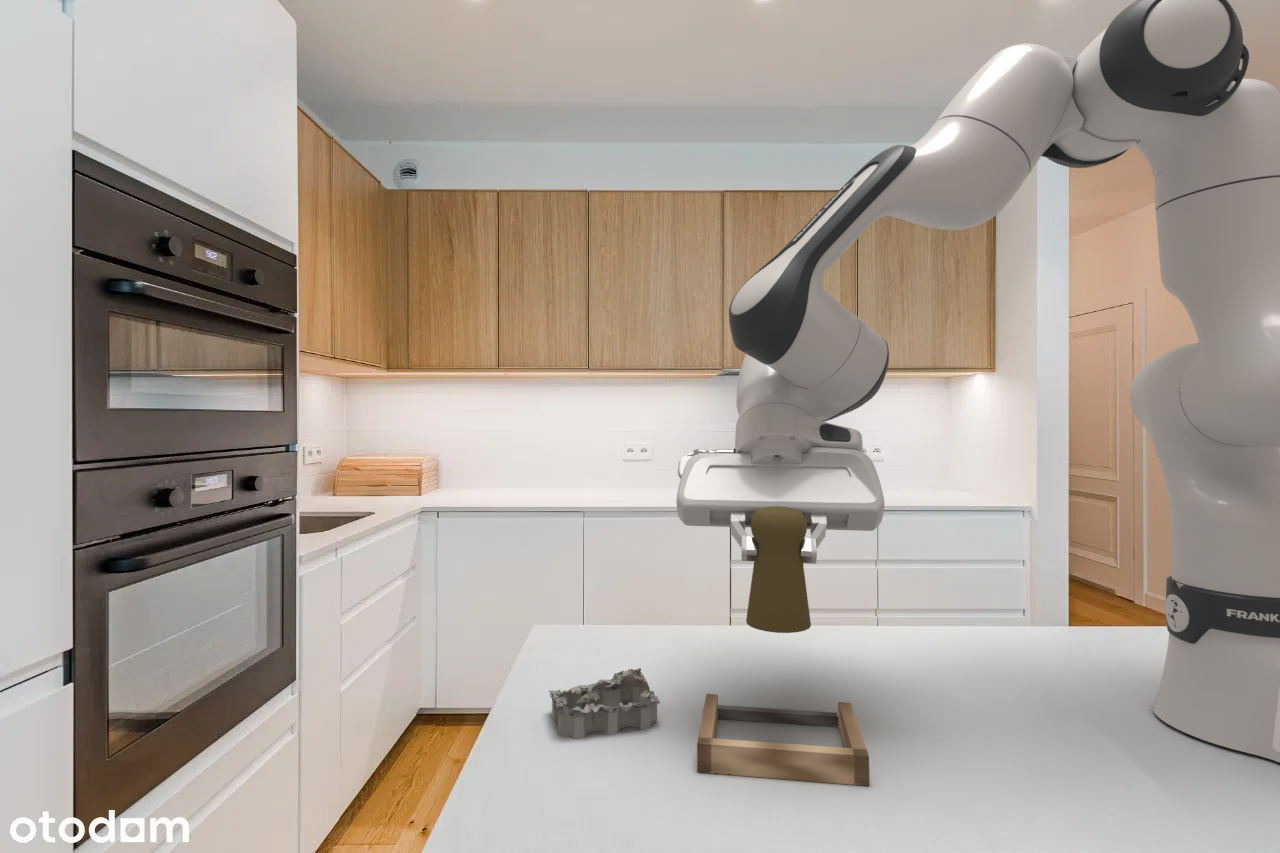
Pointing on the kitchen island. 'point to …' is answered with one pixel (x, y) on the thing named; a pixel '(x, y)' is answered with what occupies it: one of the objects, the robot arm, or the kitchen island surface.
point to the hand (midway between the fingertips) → (778, 559)
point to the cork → (778, 572)
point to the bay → (783, 746)
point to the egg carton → (605, 705)
